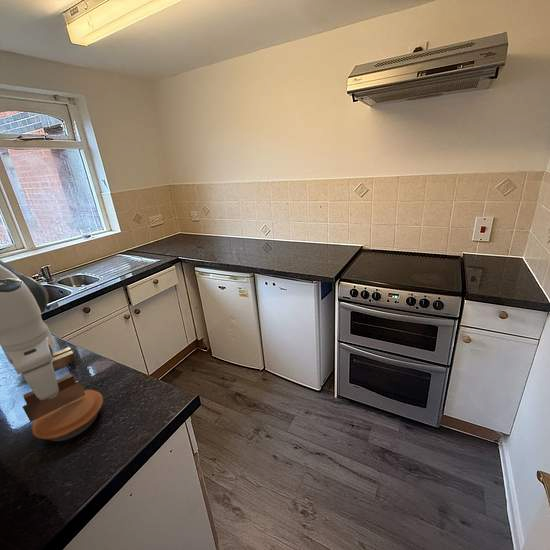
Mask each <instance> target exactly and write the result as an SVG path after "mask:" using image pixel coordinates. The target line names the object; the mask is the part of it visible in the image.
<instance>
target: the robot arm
mask: <svg viewBox="0 0 550 550" xmlns="http://www.w3.org/2000/svg"><path fill="white" fill-rule="evenodd" d="M48 304H49V292H48V290H47V288H46V287H45V286H44V285H43V284H41V283H40V282H39V281H37V280H35V279H34V278H31V277H28V276H26V275H24V274H23V273H21V272H19V271H18V270H16V269H15V268H14V267H11V266H10V265H9V264H7V263H5V262H4V261H3V260H1V259H0V348H1V350H2V352H3V353H4V355H5V357H6V358H7V361H8V363H9V364H11V365H12V366H13V369H14V370H15V372H16V374H17V375H21V373H22V375H23V377H24V379H25V380H26V382H25V383H27V385H28V387H29V388H30V389H31V391H33V392H34V394H35V395H36V397H37V398H38V399H40V400H45V399H47V398H49V399H52V398H54V397H56V396H57V395H58V394H57V393H58V392H59V388H58V384H57V380H58V379H57V377H56V374H55V370H54V369H53V365H52V360H53V353H54V349H55V346H56V343H55V340H54V338H53V336H52V334H51V333H52V332H51V331H50V329H49V326H48V325H47V324H46V323H45V322H44V320H43V318H42V314H43V313H44V312H45V311H46V309H47V307H48ZM22 375H21V376H22ZM23 377H22V378H23ZM24 379H23V380H24Z"/></svg>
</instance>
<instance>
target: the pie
mask: <svg viewBox="0 0 550 550" xmlns="http://www.w3.org/2000/svg"><path fill="white" fill-rule="evenodd" d="M84 392H85V394H86V395H85V396H83V397H81V398H79V399H77V400H75V401H73V402H71V403H69V404H66V405H64V406H62V407H60V408H58V409H56V410H54V411H52V412H50V413H48V414H46V415H44V416H42V417H40V418H38V419H36V420H34V421H33V424H32V427H31V431H32V435H33V436H34V437H35V438H37V439H41V440H48V441H52V442H64V441H68V440H70V439H73V438H74V437H77V436H78V435H79V436H80V435H81V434H82V433H83V432H85V431H87V429H89V428H90V427H91V426H92V425H93V423H94V422H95V421H96V419H97V417H98V415H99V412H100V411H101V408H102V406H103V404H104V396H103V395H102V393H101V392H99V391H97V390H93V389H85V390H84Z"/></svg>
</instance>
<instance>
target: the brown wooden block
mask: <svg viewBox="0 0 550 550" xmlns="http://www.w3.org/2000/svg"><path fill="white" fill-rule="evenodd" d="M73 375H74V374H73V373H70V374H67V375H65V376H63V377H60V378H58V379H56V380H57V384H58V388H59V392H58V393H57V394H58V395H57V396H56V397H54V398H52V399H49V398H47V399H45V400H40V399H38V398H37V397H36V395H35V394H34V392H33V391H32V390H31V391H29V392H27V393H24V394H23V400H24V401H25V403H26V404H24V405H23V406H22V409H23V411H24V413H25V415H26V417H27V418H28V420H29V422H30V423H32V422H35V420H36V419H38V418H40V417H42V416H44V415H46V414H48V413H50V412H52V411H54V410H56V409H58V408H60V407H62V406H64V405H66V404H69V403H71V402H73V401H75V400H77V399H79V398H81V397H83V396H85V395H86V394H85V392H84V391H85V390H84V387H83V385H82V383H81V380H80V379H78V380H76V381H75V378H74V376H73Z"/></svg>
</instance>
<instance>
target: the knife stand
mask: <svg viewBox="0 0 550 550" xmlns="http://www.w3.org/2000/svg"><path fill="white" fill-rule="evenodd" d="M76 361H77V358H76V357H75V354H74V352H73V349H72V348H71V346H68V347H65V348H62V349H60V350H58V351H55V352H53V360H52V365H53V369H54V371H55V370H58V369H60V368H63V367H65V366H67V365H69V364H72V363H74V362H76ZM20 375H21V377H22V379H23V381H24V383H27V382H26V380H25V379H24V377H23V375H22V373H21V374H20Z"/></svg>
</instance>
